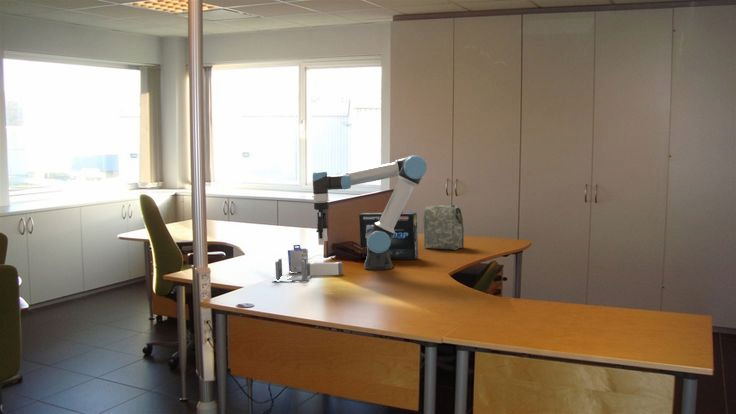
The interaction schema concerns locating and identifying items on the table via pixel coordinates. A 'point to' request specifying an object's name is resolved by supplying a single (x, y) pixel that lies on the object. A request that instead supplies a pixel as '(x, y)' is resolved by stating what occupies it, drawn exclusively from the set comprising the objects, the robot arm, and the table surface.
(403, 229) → the box
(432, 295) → the table surface
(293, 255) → the ink cartridge box
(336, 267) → the strip bar
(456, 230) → the bag
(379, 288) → the table surface
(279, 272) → the bracket
